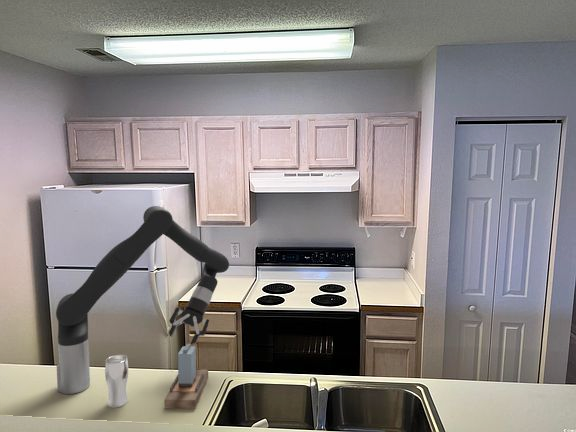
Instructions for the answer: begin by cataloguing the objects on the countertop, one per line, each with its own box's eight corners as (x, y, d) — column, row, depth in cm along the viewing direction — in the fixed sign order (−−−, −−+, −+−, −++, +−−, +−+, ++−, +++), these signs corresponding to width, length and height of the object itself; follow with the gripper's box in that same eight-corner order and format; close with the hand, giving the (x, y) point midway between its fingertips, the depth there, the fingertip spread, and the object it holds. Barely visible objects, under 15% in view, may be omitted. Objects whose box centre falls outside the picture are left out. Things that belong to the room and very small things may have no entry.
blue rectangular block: (178, 388, 131) (177, 350, 130) (183, 378, 138) (182, 342, 136) (191, 388, 131) (191, 350, 130) (196, 378, 138) (195, 342, 136)
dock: (164, 408, 125) (164, 395, 125) (181, 377, 145) (181, 366, 145) (195, 408, 125) (195, 396, 125) (208, 377, 145) (208, 366, 145)
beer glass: (123, 409, 125) (122, 364, 123) (102, 408, 125) (100, 363, 123) (132, 396, 132) (131, 354, 130) (112, 396, 132) (111, 354, 130)
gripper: (182, 291, 149) (161, 331, 141) (216, 304, 149) (198, 345, 141) (184, 297, 156) (164, 335, 148) (216, 309, 155) (199, 349, 147)
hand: (181, 340), depth 144 cm, fingers open, 8 cm apart
